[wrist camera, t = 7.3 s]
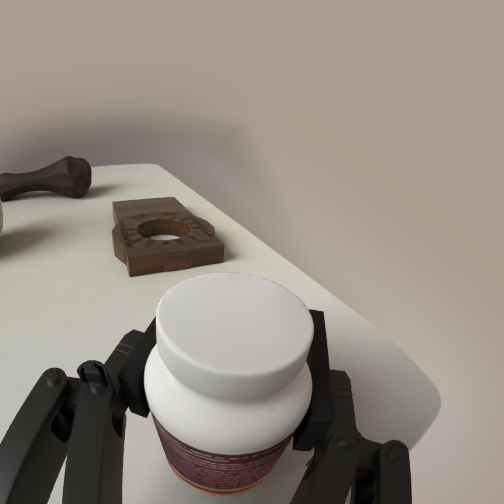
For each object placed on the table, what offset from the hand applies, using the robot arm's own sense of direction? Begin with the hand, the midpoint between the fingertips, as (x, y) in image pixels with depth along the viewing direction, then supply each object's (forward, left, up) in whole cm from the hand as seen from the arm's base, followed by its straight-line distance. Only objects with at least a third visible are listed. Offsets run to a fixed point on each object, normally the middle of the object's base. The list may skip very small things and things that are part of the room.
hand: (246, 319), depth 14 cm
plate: (+20, -21, -8) cm, 30 cm away
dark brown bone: (+59, -23, -8) cm, 64 cm away
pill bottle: (-1, +5, -7) cm, 8 cm away
